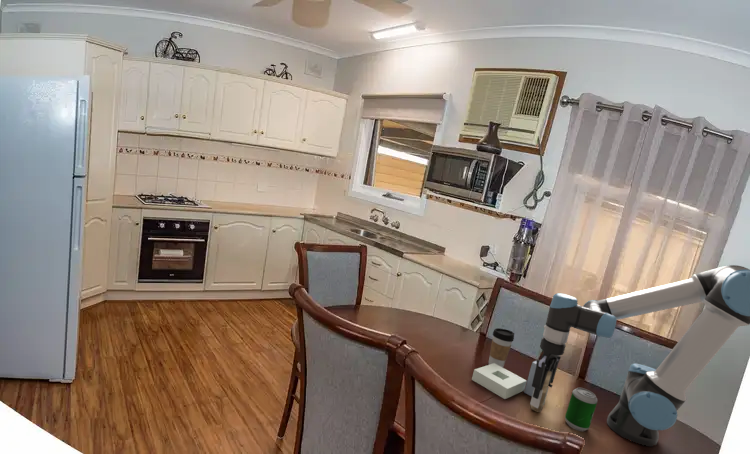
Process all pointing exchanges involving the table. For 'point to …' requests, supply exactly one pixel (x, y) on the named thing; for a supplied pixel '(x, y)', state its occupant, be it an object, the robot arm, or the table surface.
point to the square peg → (530, 380)
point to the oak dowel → (543, 393)
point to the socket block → (499, 380)
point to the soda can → (581, 409)
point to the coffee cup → (500, 346)
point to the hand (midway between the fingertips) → (537, 404)
